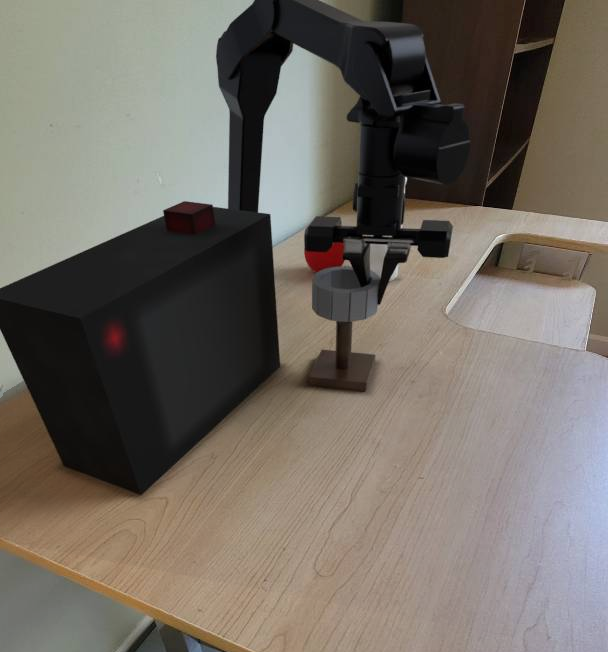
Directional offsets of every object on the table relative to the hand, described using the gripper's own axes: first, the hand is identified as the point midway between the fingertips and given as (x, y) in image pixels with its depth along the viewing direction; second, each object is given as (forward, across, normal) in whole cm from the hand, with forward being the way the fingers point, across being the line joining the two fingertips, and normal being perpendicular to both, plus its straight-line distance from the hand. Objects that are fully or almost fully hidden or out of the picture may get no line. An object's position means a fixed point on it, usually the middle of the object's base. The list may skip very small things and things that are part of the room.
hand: (373, 303), depth 74 cm
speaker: (+11, +26, +15) cm, 32 cm away
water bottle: (+11, +4, -41) cm, 42 cm away
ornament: (+11, +16, -41) cm, 45 cm away
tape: (+1, +4, 0) cm, 4 cm away
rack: (+11, +4, 0) cm, 12 cm away
